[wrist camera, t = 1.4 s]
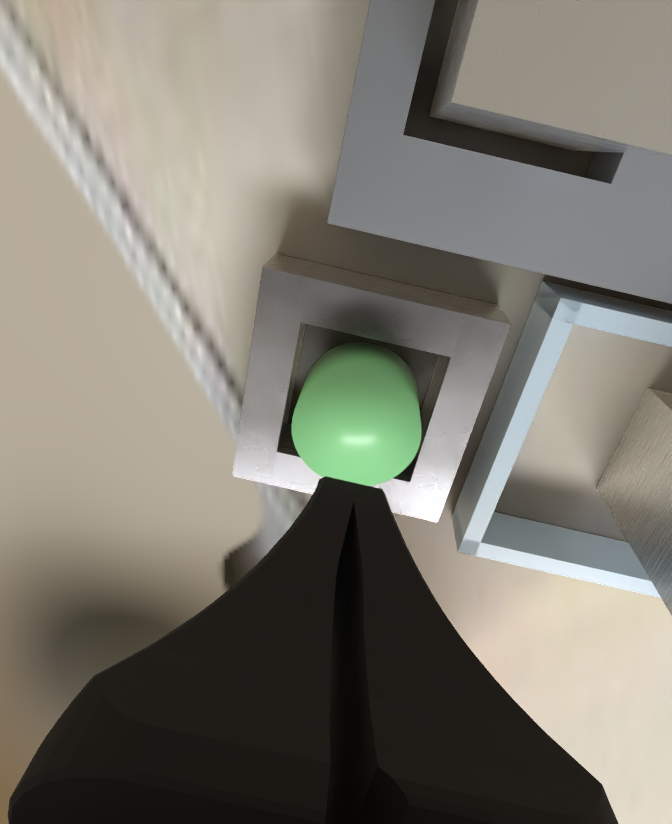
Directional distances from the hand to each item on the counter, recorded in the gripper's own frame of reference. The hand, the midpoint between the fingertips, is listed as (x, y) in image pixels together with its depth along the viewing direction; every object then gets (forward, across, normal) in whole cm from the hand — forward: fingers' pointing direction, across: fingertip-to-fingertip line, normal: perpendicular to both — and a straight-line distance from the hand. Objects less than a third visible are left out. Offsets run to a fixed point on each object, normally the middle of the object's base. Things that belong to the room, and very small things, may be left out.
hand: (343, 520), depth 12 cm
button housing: (+8, 0, 0) cm, 8 cm away
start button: (+6, 0, 0) cm, 6 cm away
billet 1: (+8, -2, -10) cm, 13 cm away
